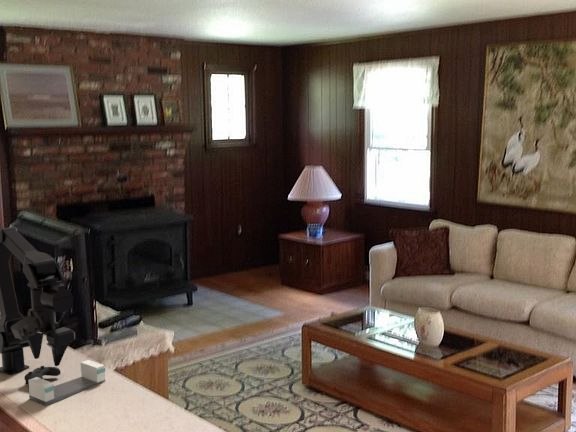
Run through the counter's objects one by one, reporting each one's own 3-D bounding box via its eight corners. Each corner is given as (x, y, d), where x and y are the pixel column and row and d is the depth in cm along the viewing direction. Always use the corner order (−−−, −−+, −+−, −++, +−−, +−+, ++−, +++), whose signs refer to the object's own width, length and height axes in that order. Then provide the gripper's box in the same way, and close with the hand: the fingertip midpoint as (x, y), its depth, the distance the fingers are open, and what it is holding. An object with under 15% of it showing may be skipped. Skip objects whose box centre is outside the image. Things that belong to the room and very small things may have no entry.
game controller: (44, 384, 181) (27, 368, 181) (33, 398, 182) (16, 383, 183) (63, 370, 190) (47, 356, 191) (52, 384, 192) (36, 369, 192)
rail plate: (29, 398, 176) (29, 395, 176) (89, 377, 190) (89, 373, 190) (45, 405, 172) (45, 401, 171) (105, 383, 186) (105, 379, 185)
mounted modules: (29, 395, 176) (28, 379, 175) (88, 373, 190) (88, 359, 189) (46, 402, 171) (45, 386, 171) (105, 379, 185) (105, 365, 185)
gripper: (-5, 306, 183) (-1, 363, 185) (35, 318, 171) (39, 379, 173) (33, 297, 191) (37, 351, 194) (74, 308, 180) (78, 366, 182)
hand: (46, 362), depth 185 cm, fingers open, 9 cm apart
